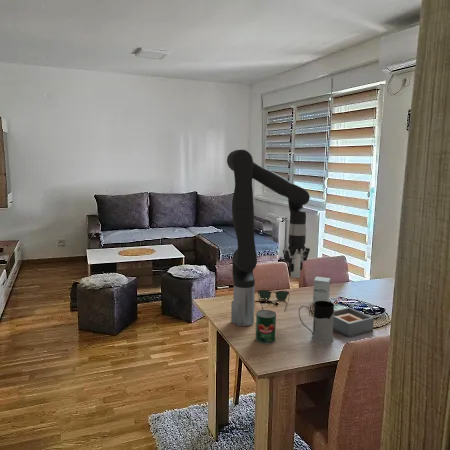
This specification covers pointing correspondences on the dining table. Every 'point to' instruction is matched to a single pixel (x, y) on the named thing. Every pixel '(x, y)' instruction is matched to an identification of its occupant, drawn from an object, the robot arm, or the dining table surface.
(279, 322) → the dining table surface
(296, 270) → the peg
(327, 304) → the mug
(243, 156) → the robot arm
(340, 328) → the walled box
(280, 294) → the sunglasses
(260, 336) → the canned tomato
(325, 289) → the supplement box
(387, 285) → the dining table surface
